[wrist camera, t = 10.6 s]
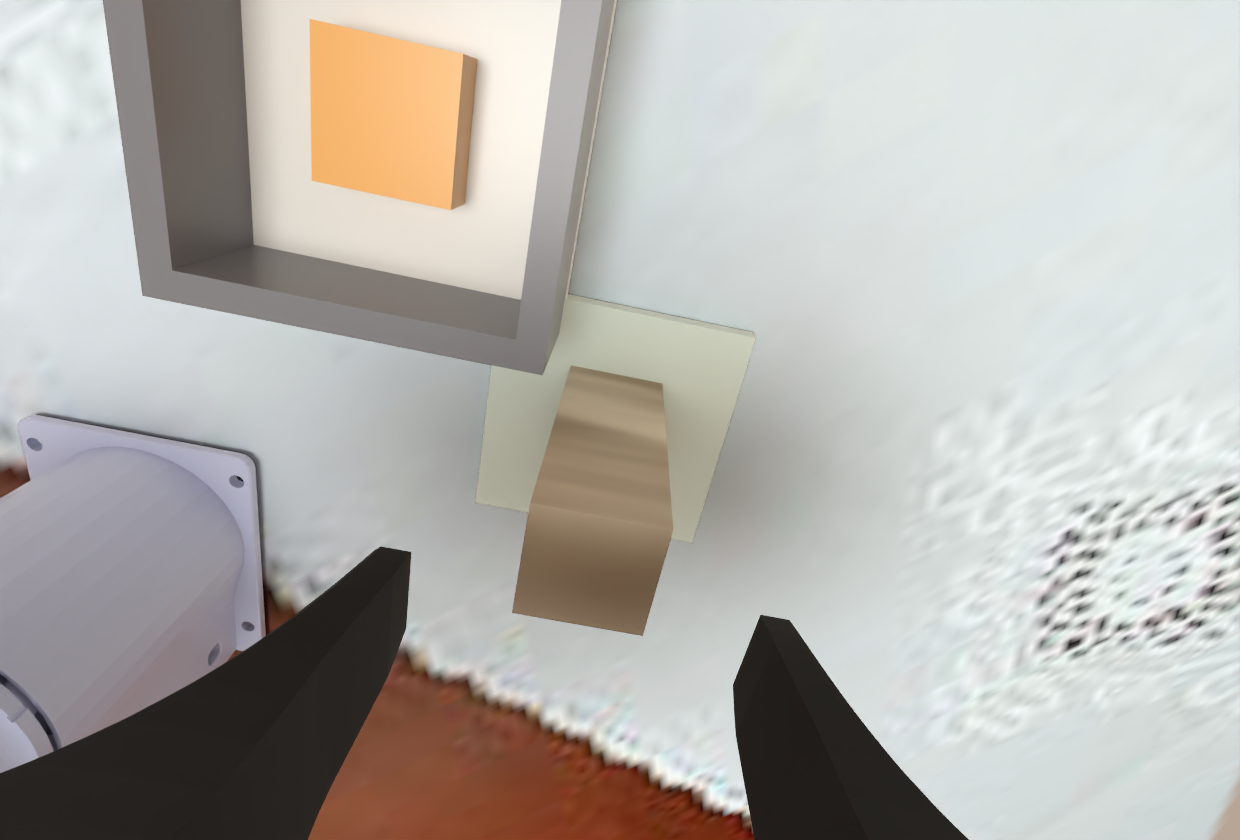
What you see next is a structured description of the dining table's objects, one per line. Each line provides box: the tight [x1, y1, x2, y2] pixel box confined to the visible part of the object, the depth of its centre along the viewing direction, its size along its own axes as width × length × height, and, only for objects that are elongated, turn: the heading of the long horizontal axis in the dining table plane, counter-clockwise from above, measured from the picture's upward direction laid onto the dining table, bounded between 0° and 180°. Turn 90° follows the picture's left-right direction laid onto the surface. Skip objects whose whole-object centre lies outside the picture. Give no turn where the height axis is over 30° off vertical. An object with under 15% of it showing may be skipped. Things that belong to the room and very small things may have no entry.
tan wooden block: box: [512, 365, 673, 636], centre depth 17 cm, size 3×3×8 cm
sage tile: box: [475, 294, 756, 543], centre depth 21 cm, size 8×8×1 cm
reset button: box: [310, 19, 477, 210], centre depth 16 cm, size 4×4×1 cm
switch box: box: [103, 0, 617, 375], centre depth 16 cm, size 10×10×4 cm
